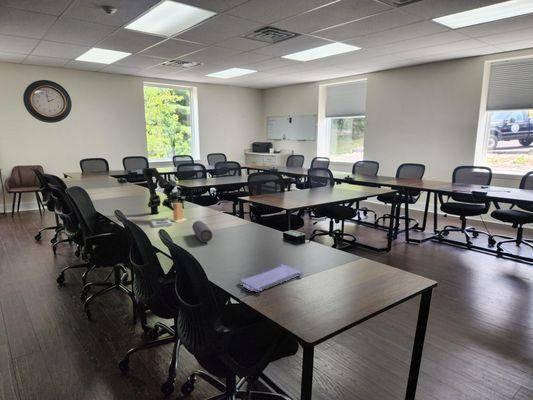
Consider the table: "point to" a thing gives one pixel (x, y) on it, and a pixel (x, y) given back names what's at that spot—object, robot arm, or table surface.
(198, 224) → the bluetooth speaker
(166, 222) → the dock
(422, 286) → the table surface
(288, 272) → the light purple flat block
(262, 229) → the table surface
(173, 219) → the pad
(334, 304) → the table surface
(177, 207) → the module
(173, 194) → the robot arm
